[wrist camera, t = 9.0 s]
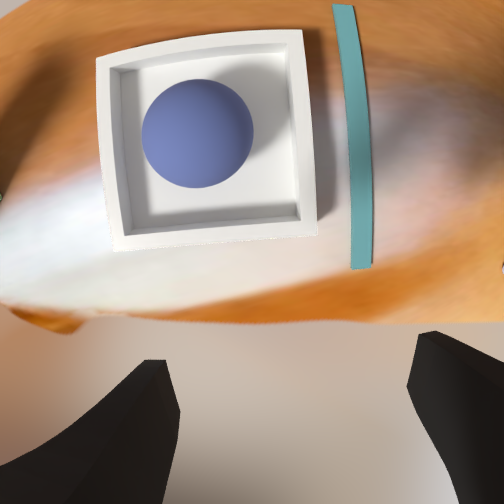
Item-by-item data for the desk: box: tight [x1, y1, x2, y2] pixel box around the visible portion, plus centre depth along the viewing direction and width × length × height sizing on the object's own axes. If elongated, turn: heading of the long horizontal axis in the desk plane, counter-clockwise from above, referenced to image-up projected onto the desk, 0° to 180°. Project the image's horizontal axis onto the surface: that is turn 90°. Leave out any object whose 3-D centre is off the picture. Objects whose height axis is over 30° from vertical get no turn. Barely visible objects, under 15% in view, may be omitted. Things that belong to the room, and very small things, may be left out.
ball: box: [141, 79, 254, 188], centre depth 13 cm, size 5×5×5 cm
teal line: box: [332, 4, 372, 270], centre depth 16 cm, size 16×1×1 cm, turn 4°
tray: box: [96, 30, 317, 252], centre depth 15 cm, size 11×11×2 cm
